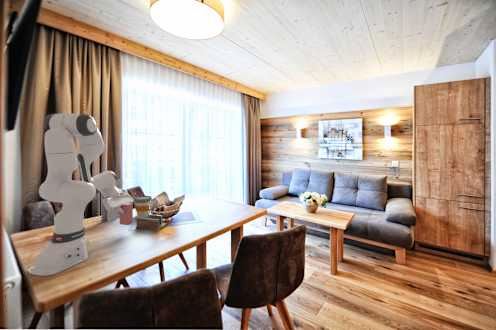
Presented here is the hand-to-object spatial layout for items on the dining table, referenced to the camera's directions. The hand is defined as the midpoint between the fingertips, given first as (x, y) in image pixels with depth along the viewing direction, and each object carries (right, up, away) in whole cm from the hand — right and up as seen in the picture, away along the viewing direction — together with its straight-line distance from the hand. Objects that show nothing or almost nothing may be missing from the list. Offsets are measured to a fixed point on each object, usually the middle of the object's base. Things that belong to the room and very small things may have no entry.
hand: (127, 211), depth 138 cm
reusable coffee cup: (-7, -11, +37) cm, 39 cm away
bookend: (+11, -12, +17) cm, 23 cm away
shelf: (+10, -14, +13) cm, 21 cm away
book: (-1, -8, +1) cm, 8 cm away
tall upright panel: (-27, -12, +28) cm, 41 cm away
